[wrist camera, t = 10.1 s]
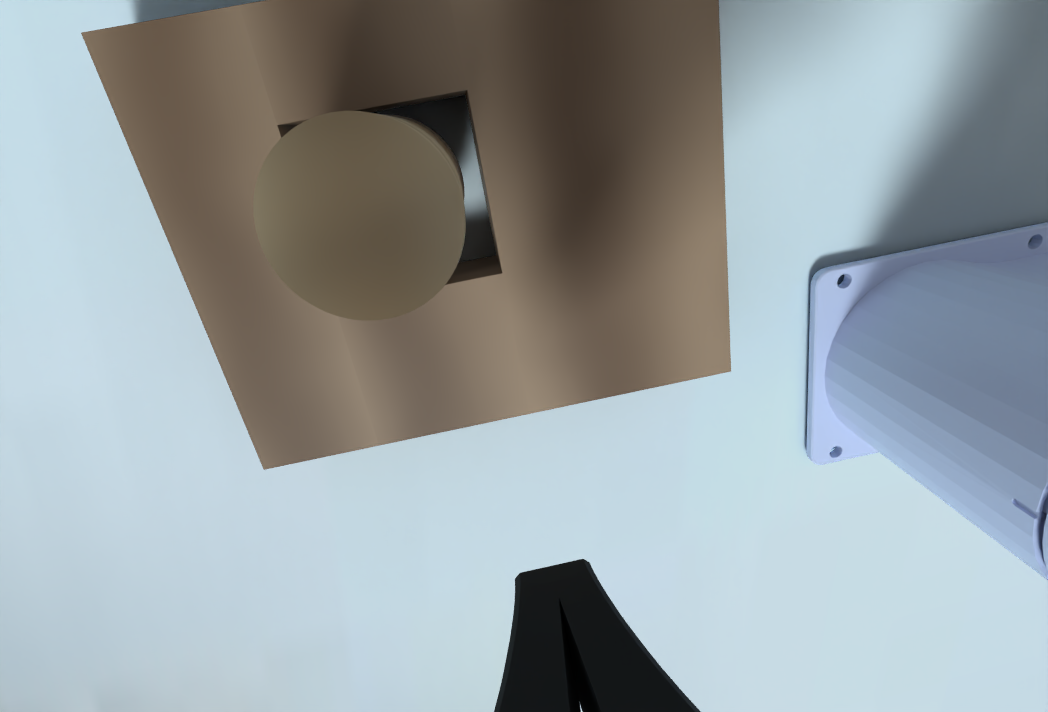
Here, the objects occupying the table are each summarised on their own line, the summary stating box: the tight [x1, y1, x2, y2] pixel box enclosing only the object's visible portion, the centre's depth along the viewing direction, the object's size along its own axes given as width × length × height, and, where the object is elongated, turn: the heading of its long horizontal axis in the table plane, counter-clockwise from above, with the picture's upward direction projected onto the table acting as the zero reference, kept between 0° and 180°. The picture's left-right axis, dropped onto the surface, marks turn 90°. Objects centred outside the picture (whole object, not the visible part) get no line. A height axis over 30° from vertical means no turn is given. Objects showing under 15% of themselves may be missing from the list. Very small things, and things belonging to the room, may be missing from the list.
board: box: [81, 0, 731, 470], centre depth 17 cm, size 15×12×2 cm
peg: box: [253, 111, 466, 321], centre depth 14 cm, size 4×4×8 cm
